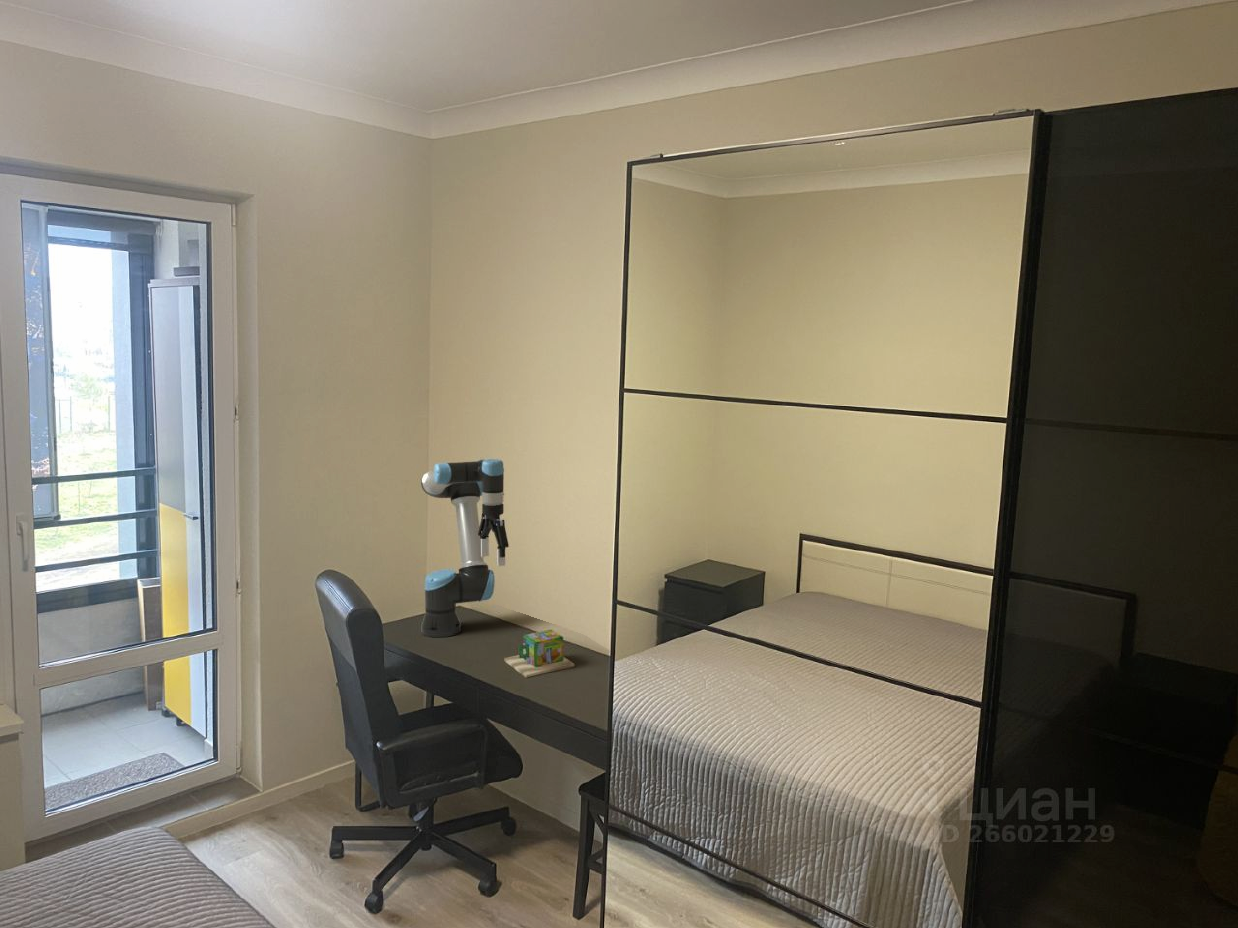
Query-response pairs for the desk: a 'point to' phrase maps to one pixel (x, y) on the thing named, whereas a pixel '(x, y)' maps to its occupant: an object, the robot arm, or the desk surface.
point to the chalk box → (542, 648)
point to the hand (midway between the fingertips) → (492, 560)
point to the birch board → (530, 670)
